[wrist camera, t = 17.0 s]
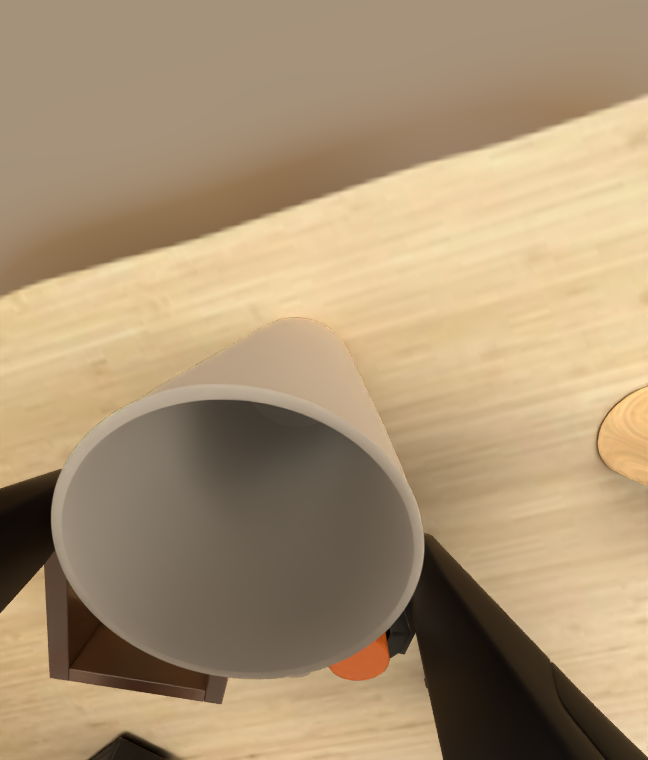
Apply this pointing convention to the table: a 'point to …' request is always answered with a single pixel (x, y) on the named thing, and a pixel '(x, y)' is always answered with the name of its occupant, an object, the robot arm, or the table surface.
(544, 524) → the table surface
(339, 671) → the release button
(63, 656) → the wooden square tray
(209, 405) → the mug
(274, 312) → the table surface
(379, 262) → the table surface
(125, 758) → the graphics card box
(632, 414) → the gold metal tumbler
